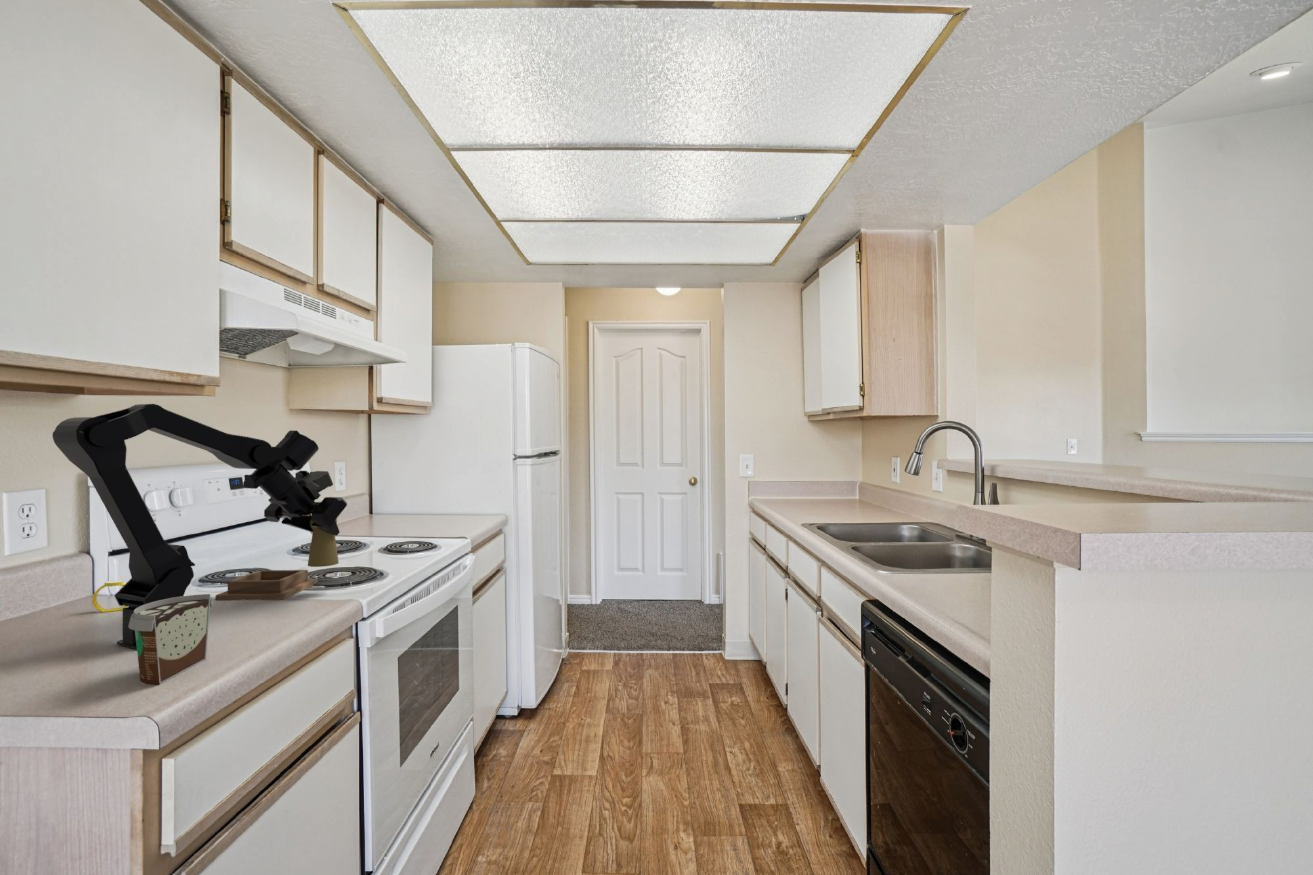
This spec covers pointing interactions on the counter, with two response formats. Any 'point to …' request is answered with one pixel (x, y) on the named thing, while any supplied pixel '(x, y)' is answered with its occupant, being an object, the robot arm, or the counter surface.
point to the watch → (108, 583)
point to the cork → (322, 549)
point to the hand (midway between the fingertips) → (329, 533)
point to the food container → (171, 636)
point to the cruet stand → (267, 585)
